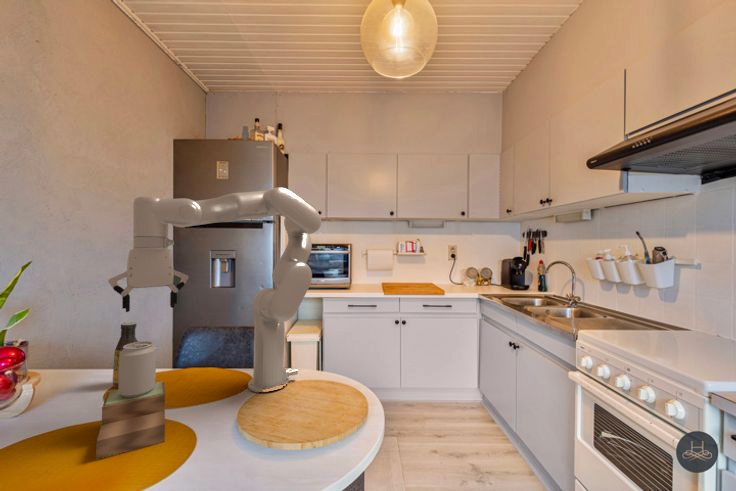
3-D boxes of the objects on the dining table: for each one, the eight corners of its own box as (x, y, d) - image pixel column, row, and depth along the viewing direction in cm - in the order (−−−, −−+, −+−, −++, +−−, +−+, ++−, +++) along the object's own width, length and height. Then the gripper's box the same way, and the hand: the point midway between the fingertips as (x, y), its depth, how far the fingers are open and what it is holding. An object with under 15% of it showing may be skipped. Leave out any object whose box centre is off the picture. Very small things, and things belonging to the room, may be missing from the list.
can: (136, 400, 74) (137, 349, 74) (110, 397, 75) (111, 347, 76) (162, 387, 81) (163, 340, 82) (138, 384, 83) (139, 338, 83)
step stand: (163, 411, 85) (164, 380, 85) (164, 441, 72) (165, 405, 72) (106, 424, 79) (107, 391, 79) (96, 460, 65) (97, 420, 65)
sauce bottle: (107, 388, 99) (109, 325, 99) (125, 380, 105) (126, 320, 105) (125, 389, 98) (127, 326, 98) (142, 381, 104) (144, 321, 104)
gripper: (187, 244, 91) (186, 303, 91) (109, 244, 81) (109, 310, 81) (190, 244, 85) (189, 307, 85) (107, 243, 75) (106, 315, 74)
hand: (150, 309), depth 83 cm, fingers open, 9 cm apart
